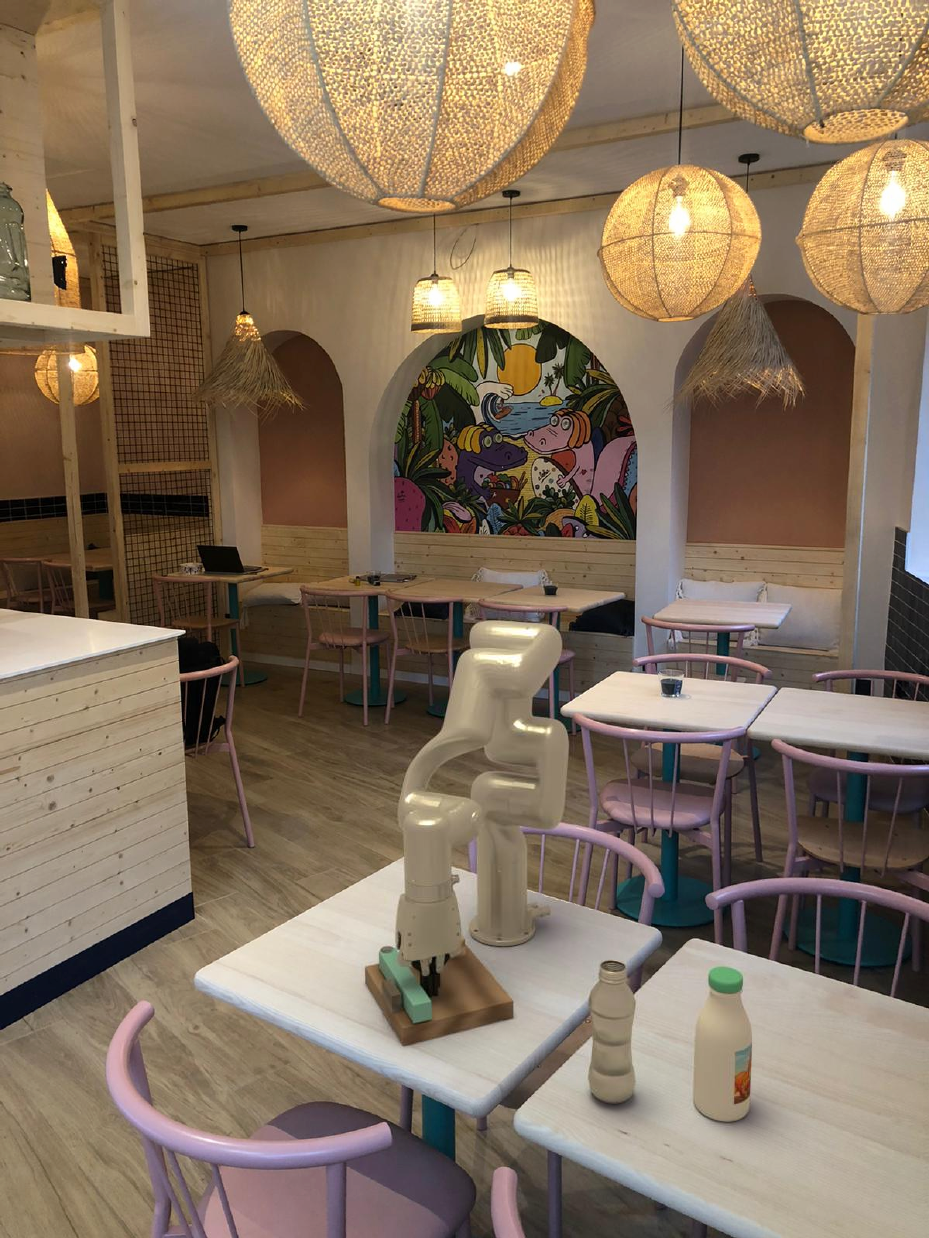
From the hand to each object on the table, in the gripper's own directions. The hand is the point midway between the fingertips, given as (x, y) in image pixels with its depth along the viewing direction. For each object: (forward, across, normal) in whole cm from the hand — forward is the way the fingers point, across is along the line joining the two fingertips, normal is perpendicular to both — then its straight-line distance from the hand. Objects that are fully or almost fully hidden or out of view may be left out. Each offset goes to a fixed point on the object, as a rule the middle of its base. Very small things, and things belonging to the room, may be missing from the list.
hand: (430, 992), depth 159 cm
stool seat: (+4, -3, -4) cm, 7 cm away
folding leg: (+1, +3, -4) cm, 5 cm away
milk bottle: (+4, -29, +37) cm, 48 cm away
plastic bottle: (+4, -16, +29) cm, 34 cm away
